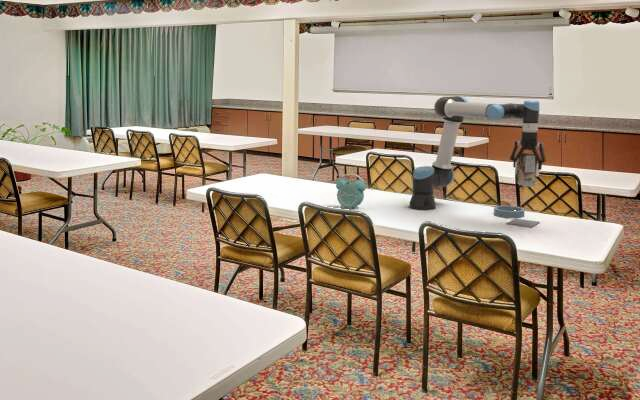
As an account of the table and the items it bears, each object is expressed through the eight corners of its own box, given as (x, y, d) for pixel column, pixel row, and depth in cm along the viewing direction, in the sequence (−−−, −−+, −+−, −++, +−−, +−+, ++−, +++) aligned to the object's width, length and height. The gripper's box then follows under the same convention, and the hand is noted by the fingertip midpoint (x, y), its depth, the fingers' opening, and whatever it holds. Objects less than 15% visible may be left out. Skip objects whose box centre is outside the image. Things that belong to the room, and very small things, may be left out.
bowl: (489, 215, 337) (490, 209, 337) (500, 210, 350) (500, 204, 349) (518, 219, 328) (518, 213, 328) (527, 214, 341) (527, 208, 340)
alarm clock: (333, 208, 355) (333, 173, 351) (339, 205, 364) (339, 171, 360) (361, 210, 349) (362, 175, 345) (367, 207, 357) (367, 173, 353)
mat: (506, 224, 318) (506, 222, 318) (515, 219, 329) (515, 218, 329) (531, 227, 311) (531, 226, 311) (539, 222, 321) (539, 221, 321)
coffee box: (535, 186, 312) (538, 155, 308) (523, 186, 311) (525, 155, 308) (528, 183, 320) (530, 152, 317) (516, 183, 320) (518, 152, 317)
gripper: (505, 130, 314) (502, 173, 318) (550, 133, 301) (547, 178, 305) (510, 129, 320) (507, 171, 324) (555, 132, 307) (551, 176, 311)
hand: (526, 175), depth 315 cm, fingers closed on coffee box, 10 cm apart
